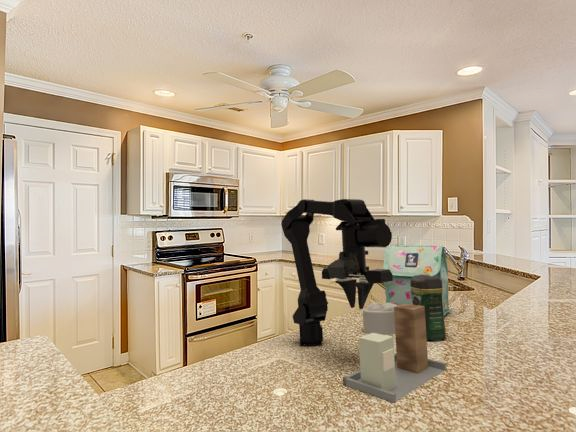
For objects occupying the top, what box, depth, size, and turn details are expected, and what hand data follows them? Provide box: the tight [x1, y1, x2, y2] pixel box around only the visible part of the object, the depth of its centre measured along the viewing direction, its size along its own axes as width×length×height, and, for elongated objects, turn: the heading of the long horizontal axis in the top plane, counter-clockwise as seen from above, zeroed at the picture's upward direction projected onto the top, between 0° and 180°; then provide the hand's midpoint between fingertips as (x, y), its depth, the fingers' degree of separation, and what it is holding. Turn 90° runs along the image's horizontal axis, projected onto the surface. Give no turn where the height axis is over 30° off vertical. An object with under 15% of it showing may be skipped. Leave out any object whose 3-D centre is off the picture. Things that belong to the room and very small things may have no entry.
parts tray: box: [342, 352, 447, 404], centre depth 78 cm, size 12×22×2 cm, turn 132°
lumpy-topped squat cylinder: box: [362, 301, 398, 336], centre depth 118 cm, size 10×13×9 cm
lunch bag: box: [382, 244, 451, 317], centre depth 141 cm, size 23×16×27 cm
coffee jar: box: [410, 275, 447, 342], centre depth 109 cm, size 10×8×19 cm
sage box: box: [358, 333, 396, 391], centre depth 74 cm, size 5×5×10 cm
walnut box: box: [394, 304, 429, 374], centre depth 84 cm, size 5×5×14 cm
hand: (356, 308), depth 92 cm, fingers open, 2 cm apart
